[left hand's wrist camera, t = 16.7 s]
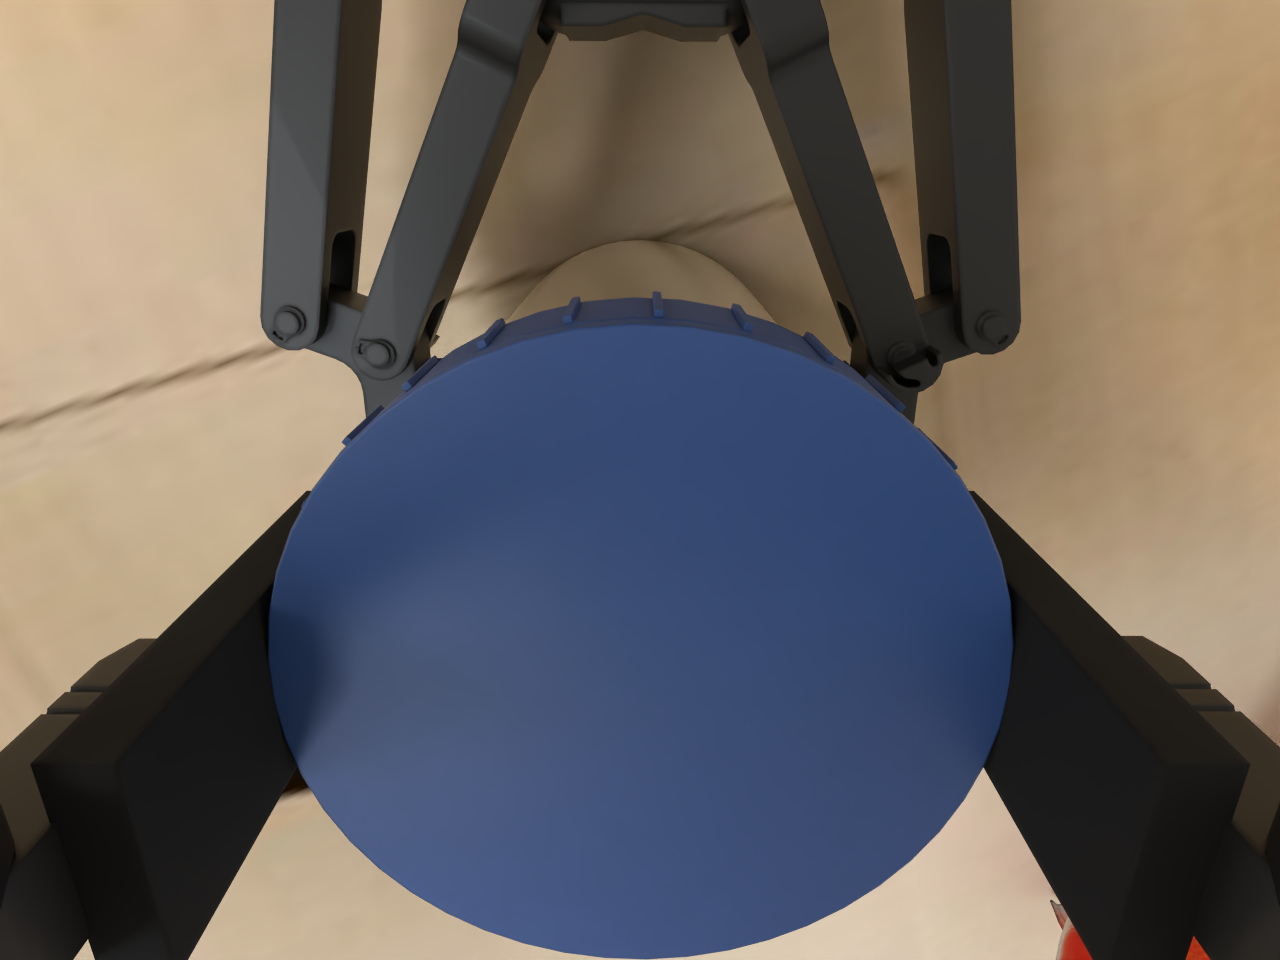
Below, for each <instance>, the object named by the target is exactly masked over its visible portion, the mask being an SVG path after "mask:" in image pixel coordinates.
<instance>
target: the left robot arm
mask: <svg viewBox="0 0 1280 960" xmlns="http://www.w3.org/2000/svg"><path fill="white" fill-rule="evenodd" d="M310 493H311V491H306V492H305V493H304V494H303V495H302V496H301V497H300V498H299V499H298V500H297V501H296V502H295V503H294V504H293V505H292V506H291V507H290V508H289V509H288V510H287V511H286V512H285V513H284V514H283V515H282V516H281V517H280V518H279V519H278V520H277V521H276V522H275V523H274V524H273V525H272V526H271V527H270V528H269V529H268V530H267V531H266V532H265V533H264V534H263V535H262V536H260V537H259V538H258V539H257V540H256V541H255V542H254V543H253V544H252V545H251V546H250V547H249V548H248V549H247V550H246V551H245V552H244V553H243V554H242V555H241V556H240V557H239V558H238V559H237V560H236V561H235V562H234V563H233V564H232V565H231V566H230V567H229V568H228V569H227V570H226V571H225V572H224V573H223V574H222V575H221V576H220V577H219V578H218V579H217V580H216V581H215V582H214V583H213V584H212V585H211V586H210V587H209V588H208V589H207V590H206V591H205V592H204V593H203V594H202V595H201V596H200V597H199V598H198V599H197V600H196V601H195V602H194V603H193V604H192V605H191V606H190V607H189V608H188V609H187V610H186V611H184V612H183V613H182V614H181V615H180V616H179V617H178V618H177V619H176V620H175V621H174V622H173V623H172V624H171V625H170V626H169V627H168V628H167V629H166V630H165V631H164V632H163V633H162V634H161V635H160V636H159V637H158V638H157V639H138V640H136V641H134V642H132V643H130V644H129V645H127V646H125V647H123V648H121V649H120V650H118V651H116V652H114V653H112V654H111V655H109V656H107V657H105V658H104V659H102V660H100V661H99V662H97V663H96V664H95V665H94V666H93V667H92V668H91V669H90V670H89V671H88V672H87V673H86V674H84V675H83V676H82V677H81V678H80V679H79V680H78V681H77V682H76V683H75V684H74V685H73V686H71V691H70V692H65V693H64V694H63V695H62V696H61V697H60V698H58V699H57V700H56V701H55V702H54V703H53V704H52V705H51V706H50V707H49V708H48V709H47V714H41V715H40V716H39V717H38V718H37V719H36V720H35V721H34V722H32V723H31V724H30V725H29V726H28V727H27V728H26V729H25V730H24V731H23V732H22V733H20V734H19V735H18V736H17V737H16V738H15V739H14V740H13V741H12V742H11V743H10V744H9V745H7V746H6V747H5V748H4V749H3V750H2V751H1V752H0V960H73V959H74V958H75V956H76V955H77V954H78V952H79V951H80V949H81V948H82V947H83V945H84V944H85V942H86V941H87V939H88V940H89V943H90V946H91V949H92V952H93V955H94V958H95V960H188V959H189V957H190V955H191V953H192V952H193V950H194V948H195V946H196V945H197V943H198V941H199V939H200V937H201V936H202V934H203V932H204V930H205V929H206V927H207V925H208V923H209V922H210V920H211V918H212V916H213V915H214V913H215V911H216V909H217V907H218V906H219V904H220V902H221V900H222V899H223V897H224V895H225V893H226V892H227V890H228V888H229V886H230V885H231V883H232V881H233V879H234V877H235V876H236V874H237V872H238V870H239V869H240V867H241V865H242V863H243V862H244V860H245V858H246V856H247V855H248V853H249V851H250V849H251V847H252V846H253V844H254V842H255V840H256V839H257V837H258V835H259V833H260V832H261V830H262V828H263V826H264V825H265V823H266V821H267V819H268V817H269V816H270V814H271V812H272V810H273V809H274V807H275V805H276V803H277V802H278V800H279V798H280V796H281V795H282V793H283V791H284V789H285V787H286V786H287V784H288V782H289V780H290V779H291V777H292V775H293V773H294V772H295V770H296V768H297V764H296V761H295V759H294V757H293V755H292V753H291V751H290V748H289V746H288V744H287V742H286V740H285V737H284V733H283V730H282V727H281V723H280V720H279V717H278V713H277V709H276V704H275V700H274V694H273V688H272V683H271V677H270V671H269V663H268V617H269V609H270V604H271V598H272V592H273V587H274V581H275V575H276V571H277V568H278V565H279V562H280V559H281V556H282V554H283V551H284V548H285V545H286V542H287V539H288V536H289V533H290V531H291V528H292V527H293V525H294V523H295V521H296V519H297V517H298V515H299V513H300V512H301V510H302V508H301V506H302V504H303V502H304V500H305V499H306V498H307V497H308V496H309V495H310ZM969 493H970V494H971V496H972V498H973V499H974V501H975V503H976V504H977V506H978V508H979V509H980V511H981V513H982V515H983V516H984V518H985V520H986V523H987V525H988V528H989V530H990V533H991V535H992V538H993V540H994V543H995V545H996V548H997V550H998V553H999V555H1000V558H1001V561H1002V565H1003V570H1004V574H1005V579H1006V583H1007V588H1008V592H1009V596H1010V601H1011V613H1012V629H1013V644H1014V646H1013V657H1012V668H1011V676H1010V682H1009V688H1008V693H1007V698H1006V703H1005V708H1004V712H1003V717H1002V721H1001V725H1000V728H999V731H998V733H997V736H996V738H995V740H994V743H993V745H992V748H991V750H990V753H989V755H988V758H987V760H986V762H985V765H984V769H985V771H986V772H987V774H988V776H989V778H990V780H991V781H992V783H993V785H994V787H995V788H996V790H997V792H998V794H999V795H1000V797H1001V799H1002V801H1003V802H1004V804H1005V806H1006V808H1007V810H1008V811H1009V813H1010V815H1011V817H1012V818H1013V820H1014V822H1015V824H1016V825H1017V827H1018V829H1019V831H1020V832H1021V834H1022V836H1023V838H1024V840H1025V841H1026V843H1027V845H1028V847H1029V848H1030V850H1031V852H1032V854H1033V855H1034V857H1035V859H1036V861H1037V862H1038V864H1039V866H1040V868H1041V870H1042V871H1043V873H1044V875H1045V877H1046V878H1047V880H1048V882H1049V884H1050V885H1051V887H1052V889H1053V891H1054V892H1055V894H1056V896H1057V898H1058V900H1059V901H1060V903H1061V905H1062V907H1063V908H1064V910H1065V912H1066V914H1067V915H1068V917H1069V919H1070V921H1071V922H1072V924H1073V926H1074V928H1075V930H1076V931H1077V933H1078V935H1079V937H1080V938H1081V940H1082V942H1083V944H1084V945H1085V947H1086V949H1087V951H1088V952H1089V954H1090V956H1091V958H1092V960H1186V957H1187V954H1188V951H1189V948H1190V945H1191V942H1192V939H1193V936H1194V937H1195V938H1196V940H1197V941H1198V943H1199V944H1200V945H1201V947H1202V948H1203V950H1204V951H1205V952H1206V954H1207V955H1208V957H1209V958H1210V959H1211V960H1280V747H1279V746H1278V745H1276V744H1275V743H1274V742H1273V741H1272V740H1271V739H1270V738H1269V737H1268V736H1267V735H1266V734H1264V733H1263V732H1262V731H1261V730H1260V729H1259V728H1258V727H1257V726H1256V725H1255V724H1254V723H1252V722H1251V721H1250V720H1249V719H1248V718H1247V717H1246V716H1245V715H1244V714H1243V713H1242V712H1236V711H1235V709H1234V705H1233V704H1232V703H1231V702H1230V701H1228V700H1227V699H1226V698H1225V697H1224V696H1223V695H1222V694H1221V693H1220V692H1219V691H1218V690H1216V689H1211V687H1210V686H1211V684H1210V683H1209V682H1208V681H1207V680H1206V679H1204V678H1203V677H1202V676H1201V675H1200V674H1199V673H1198V672H1197V671H1196V670H1195V669H1194V668H1192V667H1191V666H1190V665H1189V664H1188V663H1187V662H1186V661H1185V660H1184V659H1183V658H1181V657H1179V656H1177V655H1176V654H1174V653H1172V652H1170V651H1168V650H1167V649H1165V648H1163V647H1161V646H1159V645H1158V644H1156V643H1154V642H1152V641H1150V640H1149V639H1147V638H1145V637H1143V636H1120V635H1119V634H1118V633H1117V632H1116V631H1115V630H1114V629H1113V628H1112V627H1111V626H1110V625H1109V624H1108V623H1107V622H1106V621H1105V620H1104V619H1103V618H1102V617H1101V616H1100V615H1099V614H1098V613H1097V612H1096V611H1095V610H1094V609H1093V608H1092V607H1091V606H1090V605H1089V604H1088V603H1087V602H1086V601H1085V600H1084V599H1083V598H1082V597H1081V596H1080V595H1079V594H1078V593H1077V592H1076V591H1075V590H1074V589H1073V588H1072V587H1071V586H1070V585H1069V584H1068V583H1067V582H1066V581H1065V580H1064V579H1063V578H1062V577H1061V576H1060V575H1059V574H1058V573H1057V572H1056V571H1055V570H1054V569H1052V568H1051V567H1050V566H1049V565H1048V564H1047V563H1046V562H1045V561H1044V560H1043V559H1042V558H1041V557H1040V556H1039V555H1038V554H1037V553H1036V552H1035V551H1034V550H1033V549H1032V548H1031V547H1030V546H1029V545H1028V544H1027V543H1026V542H1025V541H1024V540H1023V539H1022V538H1021V537H1020V536H1019V535H1018V534H1017V533H1016V532H1015V531H1014V530H1013V529H1012V528H1011V527H1010V526H1009V525H1008V524H1007V523H1006V522H1005V521H1004V520H1003V519H1002V518H1001V517H1000V516H999V515H998V514H997V513H996V512H995V511H994V510H993V509H992V508H991V507H990V506H989V505H988V504H987V503H986V502H985V501H984V500H983V499H982V498H981V497H980V496H978V495H977V494H976V493H975V492H974V491H969Z"/></svg>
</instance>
